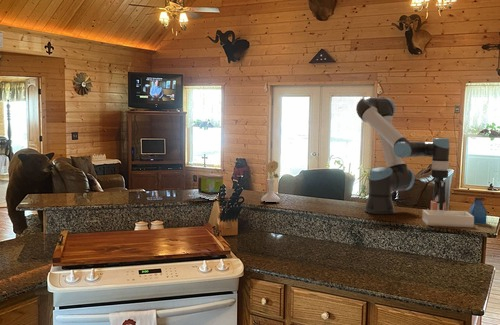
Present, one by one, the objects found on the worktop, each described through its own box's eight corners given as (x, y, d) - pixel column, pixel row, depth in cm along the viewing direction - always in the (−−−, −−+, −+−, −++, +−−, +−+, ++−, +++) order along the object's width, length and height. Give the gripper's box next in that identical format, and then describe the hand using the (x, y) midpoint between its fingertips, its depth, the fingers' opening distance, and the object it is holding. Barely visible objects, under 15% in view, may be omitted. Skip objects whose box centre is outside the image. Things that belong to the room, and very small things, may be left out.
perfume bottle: (486, 224, 222) (487, 198, 221) (471, 223, 223) (473, 198, 222) (482, 221, 228) (483, 196, 227) (468, 220, 229) (469, 196, 228)
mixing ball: (433, 199, 235) (435, 192, 233) (441, 201, 234) (443, 194, 233) (434, 203, 231) (436, 196, 230) (443, 205, 231) (445, 198, 229)
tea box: (223, 199, 285) (223, 175, 284) (208, 201, 280) (208, 176, 279) (212, 196, 298) (212, 173, 297) (197, 197, 293) (197, 173, 292)
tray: (422, 219, 230) (422, 209, 230) (466, 221, 226) (466, 211, 226) (427, 225, 217) (427, 214, 217) (473, 227, 214) (474, 216, 213)
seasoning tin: (430, 217, 237) (430, 200, 236) (442, 217, 236) (443, 201, 235) (432, 219, 231) (433, 202, 231) (445, 220, 230) (446, 203, 229)
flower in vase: (257, 201, 279) (257, 159, 277) (273, 200, 285) (274, 159, 283) (268, 205, 268) (269, 161, 266) (285, 203, 273) (286, 160, 271)
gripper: (453, 171, 219) (451, 219, 221) (443, 168, 241) (441, 211, 242) (436, 170, 221) (434, 218, 222) (427, 167, 243) (426, 211, 244)
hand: (438, 214), depth 232 cm, fingers open, 10 cm apart
